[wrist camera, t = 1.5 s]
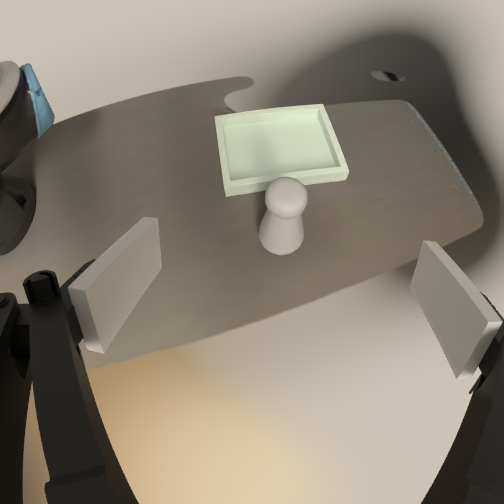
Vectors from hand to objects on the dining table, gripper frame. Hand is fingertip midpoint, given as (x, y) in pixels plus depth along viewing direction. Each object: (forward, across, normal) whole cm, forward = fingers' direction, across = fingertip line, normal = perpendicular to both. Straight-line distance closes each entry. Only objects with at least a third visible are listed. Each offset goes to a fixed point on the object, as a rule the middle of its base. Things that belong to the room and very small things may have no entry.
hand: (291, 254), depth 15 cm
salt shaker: (+26, 0, -11) cm, 28 cm away
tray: (+36, -1, 0) cm, 36 cm away
